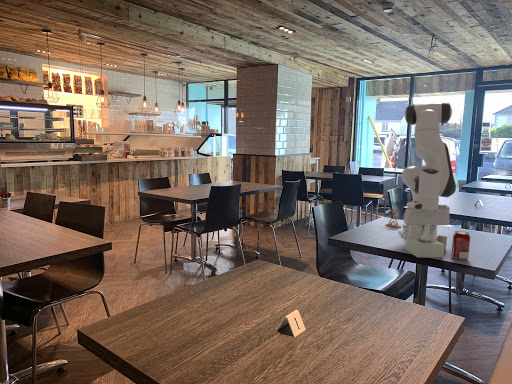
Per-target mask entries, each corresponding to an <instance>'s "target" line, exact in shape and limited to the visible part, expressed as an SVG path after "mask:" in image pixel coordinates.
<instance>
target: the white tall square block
mask: <svg viewBox="0 0 512 384" xmlns="http://www.w3.org/2000/svg"><path fill="white" fill-rule="evenodd" d="M421 231H422V235H421V239H420V242H422V243H430V233H431V223H426V225H422V226H421Z"/></svg>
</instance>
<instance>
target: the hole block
mask: <svg viewBox="0 0 512 384" xmlns="http://www.w3.org/2000/svg"><path fill="white" fill-rule="evenodd" d="M420 239H421V238H405V241H406V243H405V251H407V252H408V253H410V254H412V255H413V256H415V257H416V258H439V257H442V258H444V253H445V252H444V244H442V243H440V242H438V241H437V239H436V240H434V239H432V238H430V243H422V242H420Z"/></svg>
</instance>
